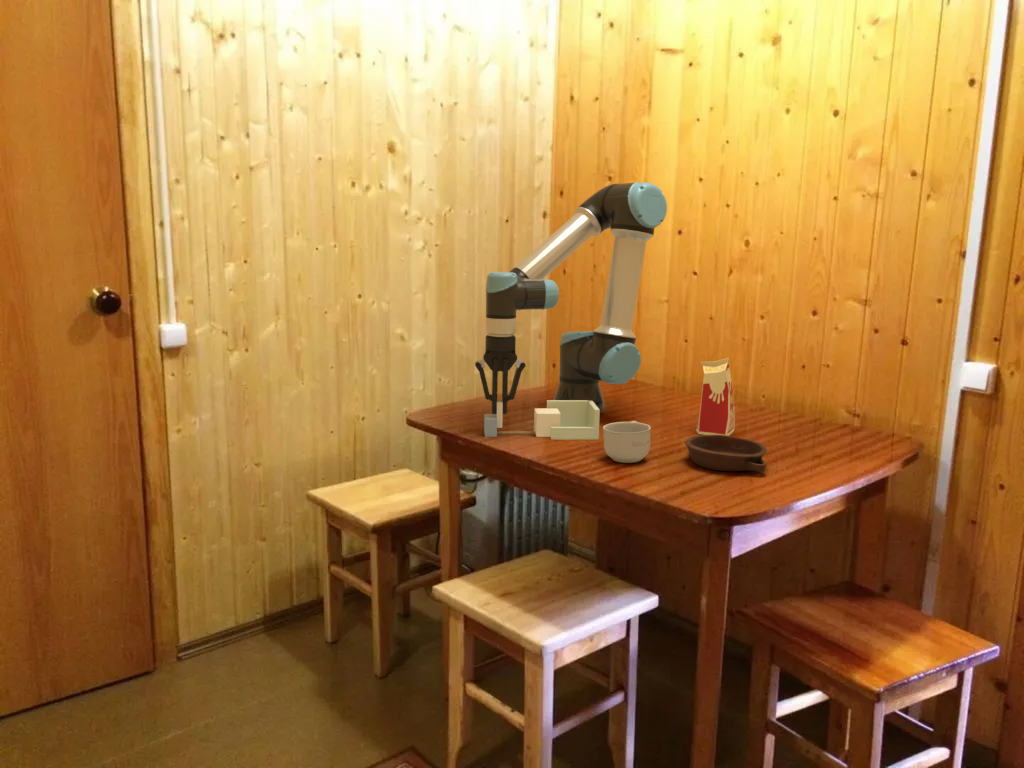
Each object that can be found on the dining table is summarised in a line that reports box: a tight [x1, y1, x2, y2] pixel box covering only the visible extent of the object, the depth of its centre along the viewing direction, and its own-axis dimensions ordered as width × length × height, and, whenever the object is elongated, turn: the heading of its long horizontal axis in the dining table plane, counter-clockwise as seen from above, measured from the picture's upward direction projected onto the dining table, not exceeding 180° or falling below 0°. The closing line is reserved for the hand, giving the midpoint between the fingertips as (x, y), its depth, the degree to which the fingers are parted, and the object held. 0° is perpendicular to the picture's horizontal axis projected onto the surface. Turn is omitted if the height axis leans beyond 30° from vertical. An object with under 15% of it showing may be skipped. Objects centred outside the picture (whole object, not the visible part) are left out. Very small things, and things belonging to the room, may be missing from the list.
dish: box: [684, 434, 768, 473], centre depth 184 cm, size 18×22×5 cm
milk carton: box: [695, 357, 736, 436], centre depth 211 cm, size 9×9×20 cm
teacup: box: [602, 420, 652, 464], centre depth 187 cm, size 14×11×8 cm
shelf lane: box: [546, 399, 601, 441], centre depth 207 cm, size 12×11×8 cm
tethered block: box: [483, 407, 561, 438], centre depth 207 cm, size 19×6×6 cm, turn 94°
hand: (499, 426), depth 206 cm, fingers closed
